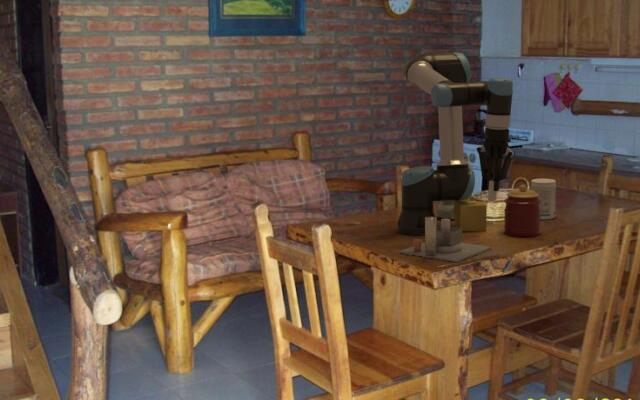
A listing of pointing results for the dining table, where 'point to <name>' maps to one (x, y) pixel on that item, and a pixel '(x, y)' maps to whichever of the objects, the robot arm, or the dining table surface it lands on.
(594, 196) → the dining table surface
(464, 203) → the olive yellow box
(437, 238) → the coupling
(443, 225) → the square plate with uprights
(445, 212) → the air freshener
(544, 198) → the supplement tub
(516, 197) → the canister
